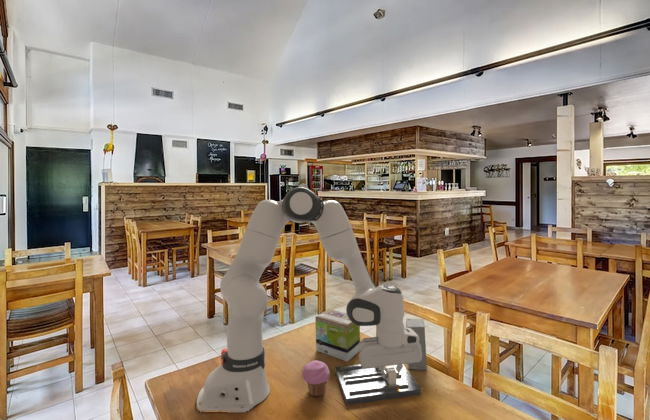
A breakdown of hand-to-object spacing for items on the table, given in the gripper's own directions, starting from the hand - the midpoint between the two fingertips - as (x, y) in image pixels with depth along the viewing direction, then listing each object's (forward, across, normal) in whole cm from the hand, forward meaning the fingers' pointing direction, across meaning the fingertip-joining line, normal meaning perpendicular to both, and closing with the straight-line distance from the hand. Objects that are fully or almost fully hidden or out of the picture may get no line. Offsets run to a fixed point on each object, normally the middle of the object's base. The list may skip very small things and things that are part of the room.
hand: (390, 376), depth 110 cm
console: (+4, -4, +4) cm, 7 cm away
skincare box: (+4, +14, +12) cm, 19 cm away
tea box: (+4, -12, +27) cm, 30 cm away
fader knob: (+2, 0, 0) cm, 2 cm away
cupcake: (+4, -24, +3) cm, 24 cm away
